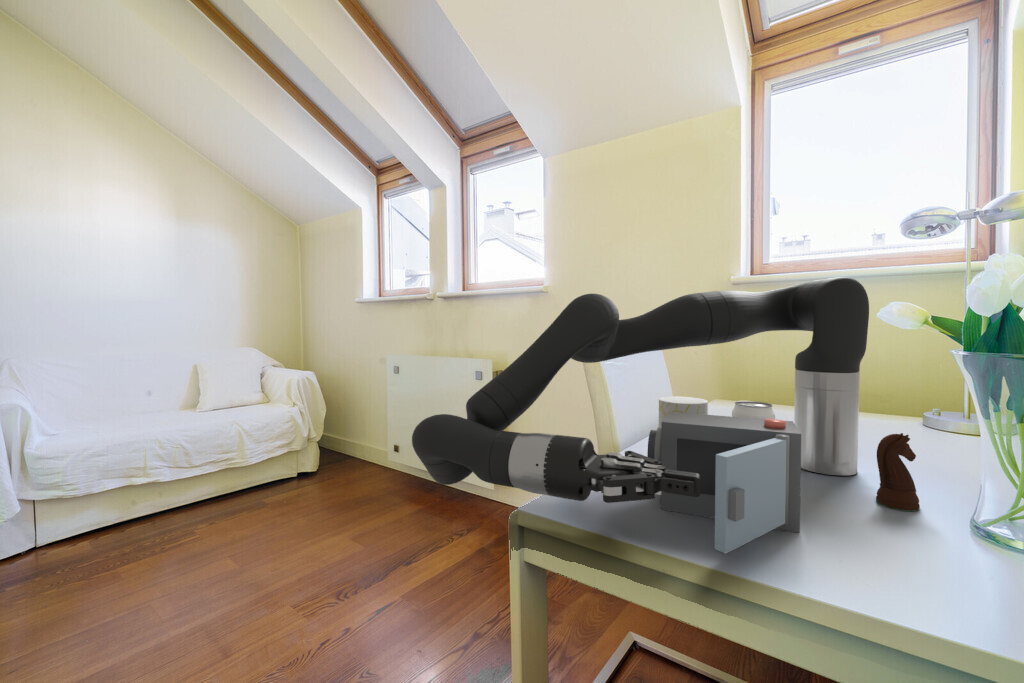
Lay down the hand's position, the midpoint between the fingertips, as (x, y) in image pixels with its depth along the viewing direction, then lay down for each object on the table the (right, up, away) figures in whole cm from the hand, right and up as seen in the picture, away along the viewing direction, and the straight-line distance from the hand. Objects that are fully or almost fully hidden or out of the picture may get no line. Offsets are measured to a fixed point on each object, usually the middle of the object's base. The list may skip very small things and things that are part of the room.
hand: (700, 485), depth 48 cm
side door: (+7, -6, +1) cm, 9 cm away
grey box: (+9, -7, +12) cm, 16 cm away
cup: (+10, -7, +30) cm, 33 cm away
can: (+20, -7, +26) cm, 34 cm away
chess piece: (+33, -7, +13) cm, 36 cm away
